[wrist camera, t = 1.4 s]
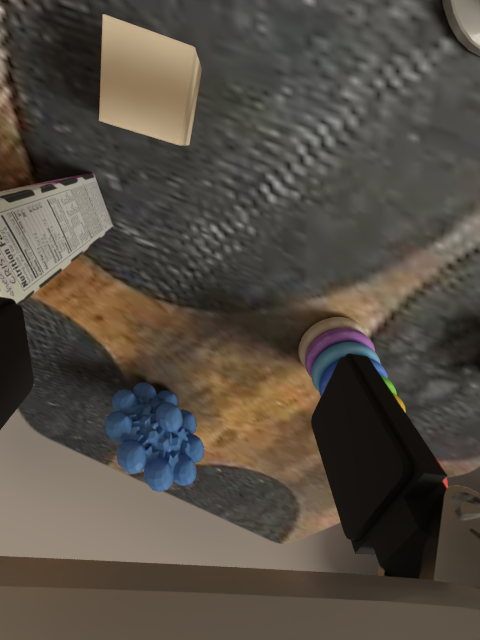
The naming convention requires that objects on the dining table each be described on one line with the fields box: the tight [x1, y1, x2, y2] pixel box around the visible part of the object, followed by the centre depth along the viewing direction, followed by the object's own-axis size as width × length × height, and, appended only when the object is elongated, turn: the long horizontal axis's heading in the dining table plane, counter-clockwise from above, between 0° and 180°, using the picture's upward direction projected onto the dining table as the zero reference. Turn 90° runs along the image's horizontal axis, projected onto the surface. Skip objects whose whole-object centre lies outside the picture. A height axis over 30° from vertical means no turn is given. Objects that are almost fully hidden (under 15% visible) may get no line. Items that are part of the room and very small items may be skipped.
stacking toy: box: [299, 317, 448, 488], centre depth 27 cm, size 8×8×19 cm
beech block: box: [99, 14, 202, 145], centre depth 20 cm, size 5×5×6 cm
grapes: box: [105, 382, 204, 492], centre depth 32 cm, size 12×7×12 cm, turn 54°
